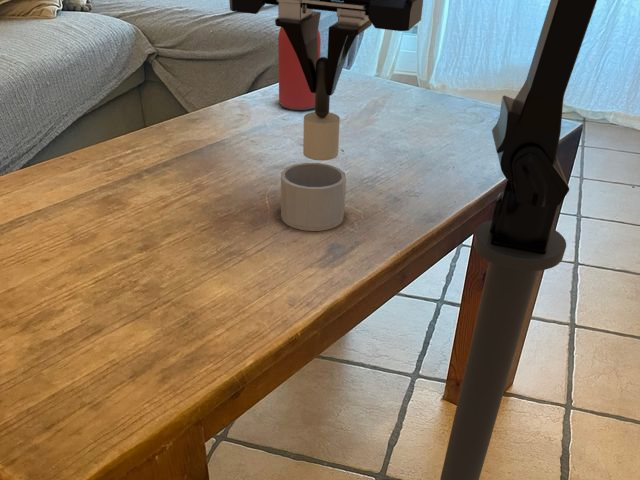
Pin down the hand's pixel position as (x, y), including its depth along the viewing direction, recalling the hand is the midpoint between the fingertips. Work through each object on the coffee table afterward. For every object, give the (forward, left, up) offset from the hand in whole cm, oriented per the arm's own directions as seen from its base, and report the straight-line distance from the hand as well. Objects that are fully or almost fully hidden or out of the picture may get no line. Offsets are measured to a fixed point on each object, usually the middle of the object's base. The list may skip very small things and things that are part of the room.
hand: (322, 93), depth 72 cm
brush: (0, 0, -6) cm, 6 cm away
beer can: (+16, -35, -13) cm, 41 cm away
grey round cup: (0, +3, -13) cm, 13 cm away
